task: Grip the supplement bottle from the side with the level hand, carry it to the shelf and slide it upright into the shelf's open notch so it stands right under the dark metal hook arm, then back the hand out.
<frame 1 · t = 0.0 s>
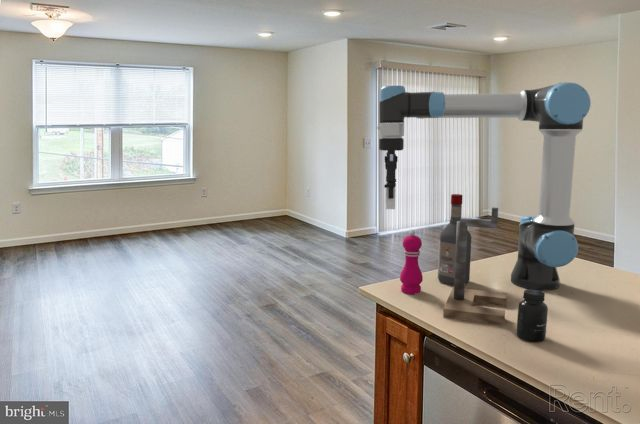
hand: (390, 205, 158), 28 cm above the counter, tool pointing down, fingers open, 13 cm apart
liquor: (453, 281, 172), on the counter
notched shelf: (476, 308, 146), on the counter
supplement bottle: (530, 338, 127), on the counter
pepper mill: (410, 291, 162), on the counter
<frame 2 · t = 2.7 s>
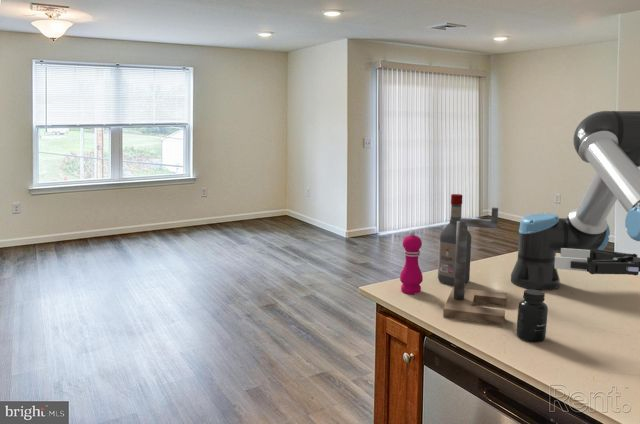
hand: (557, 257, 122), 21 cm above the counter, tool horizontal, fingers open, 13 cm apart
nothing on the counter moved.
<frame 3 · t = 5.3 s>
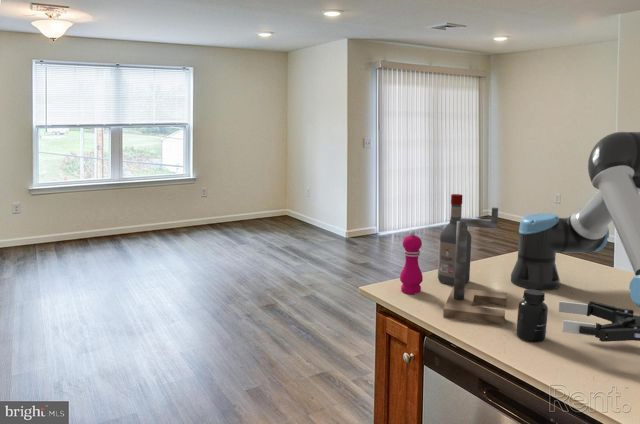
hand: (560, 315, 123), 7 cm above the counter, tool horizontal, fingers open, 13 cm apart
nothing on the counter moved.
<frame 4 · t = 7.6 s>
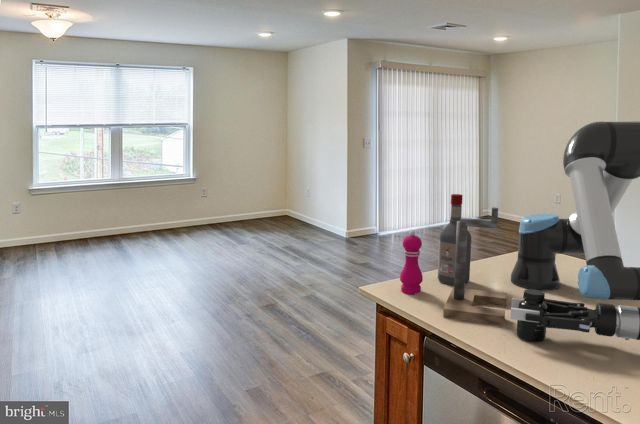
hand: (511, 308, 127), 7 cm above the counter, tool horizontal, fingers closed on supplement bottle, 7 cm apart
supplement bottle: (530, 338, 127), on the counter, touching gripper
everything else where it was.
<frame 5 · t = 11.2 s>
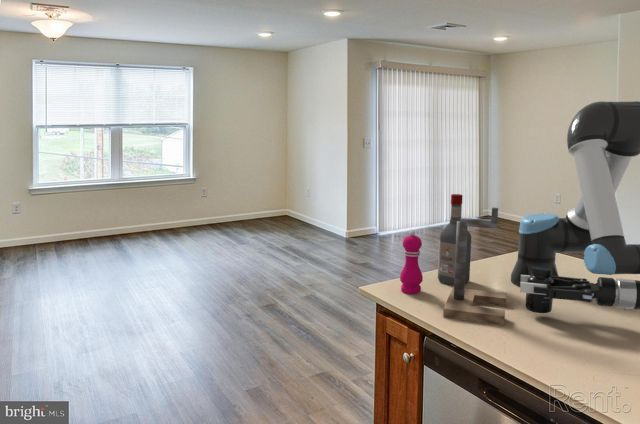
hand: (520, 283, 140), 9 cm above the counter, tool horizontal, fingers closed on supplement bottle, 7 cm apart
supplement bottle: (538, 310, 140), point 2 cm above the counter, touching gripper
everything else where it was.
when the fingers open (8 cm above the counter, at t = 14.8 s): supplement bottle drops 1 cm, on the counter.
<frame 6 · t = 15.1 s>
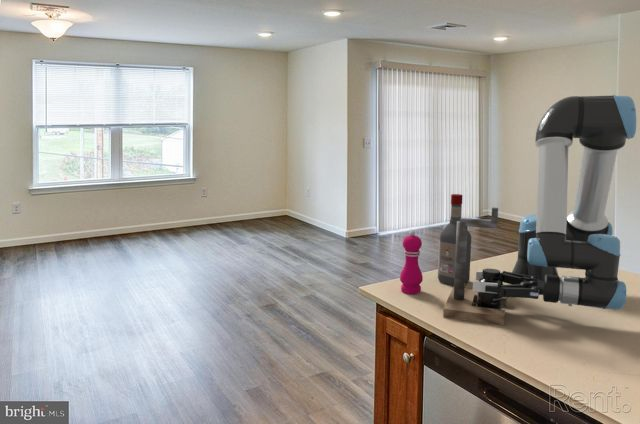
hand: (474, 280, 145), 8 cm above the counter, tool horizontal, fingers open, 10 cm apart
supplement bottle: (488, 311, 145), on the counter
everything else where it was.
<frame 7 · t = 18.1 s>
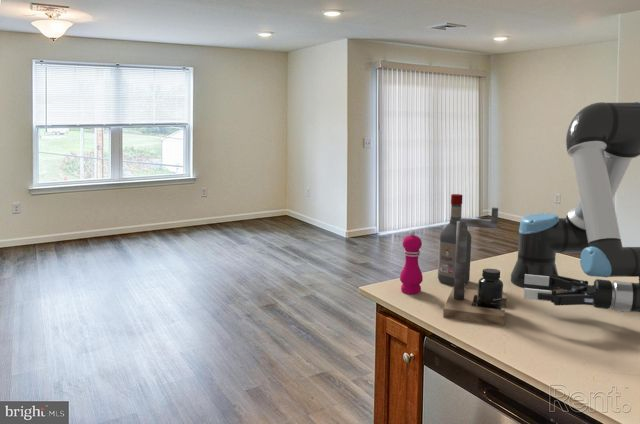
hand: (524, 285, 140), 9 cm above the counter, tool horizontal, fingers open, 13 cm apart
nothing on the counter moved.
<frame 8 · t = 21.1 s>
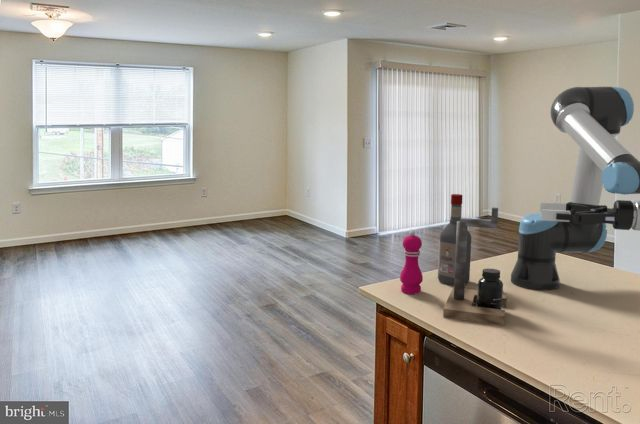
hand: (540, 210, 135), 30 cm above the counter, tool horizontal, fingers open, 13 cm apart
nothing on the counter moved.
at the end: supplement bottle 0.1 cm from the target spot on the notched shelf, point 0.0 cm above the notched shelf's base; supplement bottle tilted 0°; the gripper is holding nothing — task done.
